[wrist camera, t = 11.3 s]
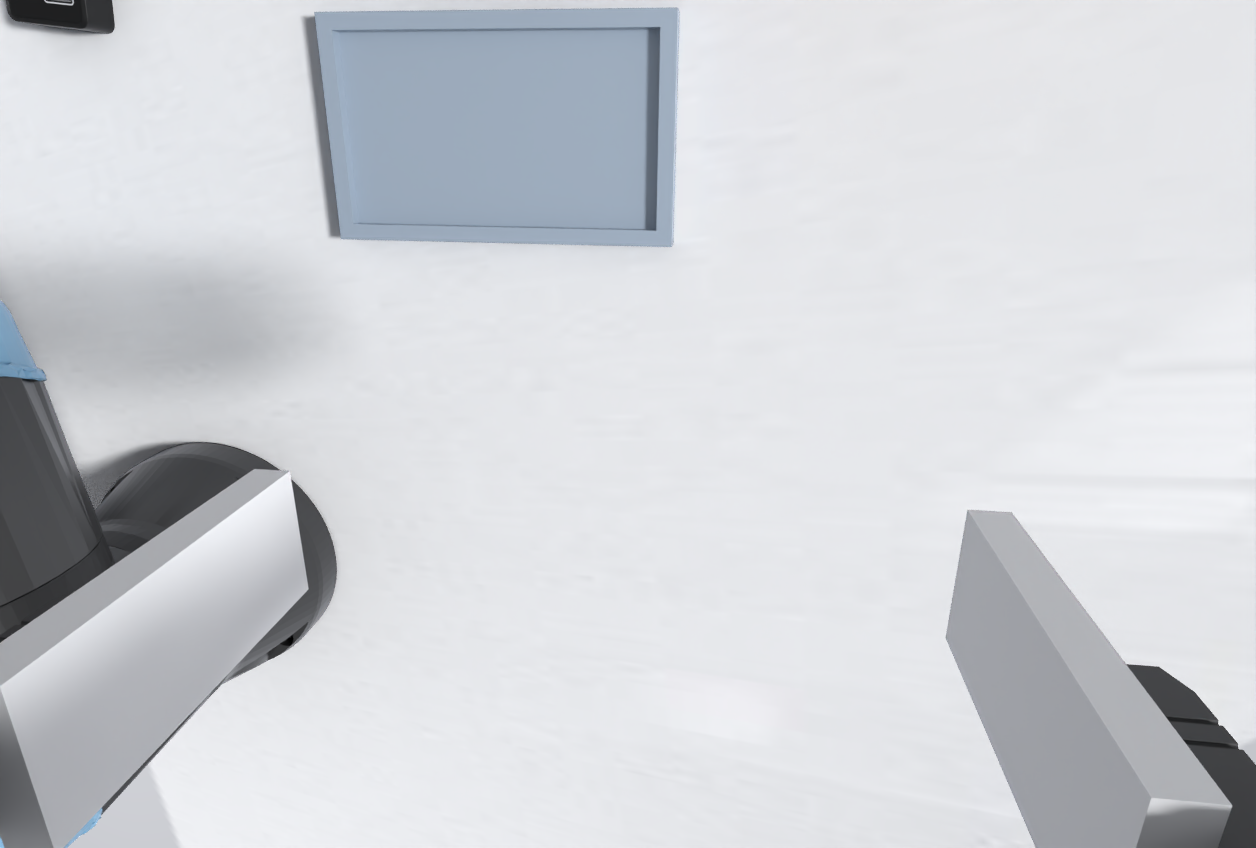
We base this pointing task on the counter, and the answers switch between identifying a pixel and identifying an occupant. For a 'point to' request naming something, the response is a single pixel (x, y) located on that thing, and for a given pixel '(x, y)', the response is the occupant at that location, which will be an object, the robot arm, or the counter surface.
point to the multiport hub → (65, 14)
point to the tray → (503, 124)
